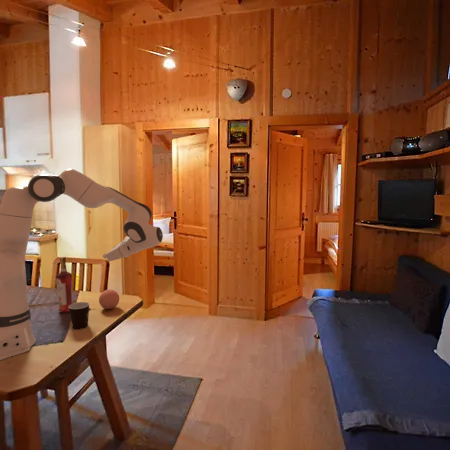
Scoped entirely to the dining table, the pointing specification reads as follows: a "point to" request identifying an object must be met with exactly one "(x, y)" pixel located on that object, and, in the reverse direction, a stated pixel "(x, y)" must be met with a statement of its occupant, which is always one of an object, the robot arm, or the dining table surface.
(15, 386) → the dining table surface
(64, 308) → the liquor
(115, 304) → the ball
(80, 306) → the coffee mug
